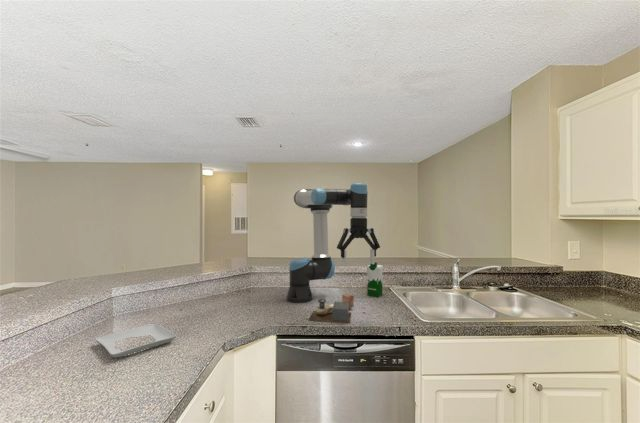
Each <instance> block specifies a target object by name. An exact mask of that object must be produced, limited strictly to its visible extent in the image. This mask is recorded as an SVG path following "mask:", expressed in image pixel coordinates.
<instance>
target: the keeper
mask: <svg viewBox="0 0 640 423" xmlns="http://www.w3.org/2000/svg"><path fill="white" fill-rule="evenodd" d="M317 303H319V304H318V307H319V308H325V306H326V305H325V304H326V303H327V299H325V298H319V299H317ZM333 304H334V306H333V312H331V313H327V314H325V315H319V314H317V310H313V311H312V312H311V314H310V316H309V318H308V321H309V322H324V323H339V324H340V323H341V324H351V318H352V312H350V311H349V309H350V308H349V302H342V301H334V303H333Z"/></svg>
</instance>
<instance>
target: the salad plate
mask: <svg viewBox="0 0 640 423" xmlns="http://www.w3.org/2000/svg"><path fill="white" fill-rule="evenodd" d="M145 335H151V336H153V337H154V338H155V339H156V341H155V342H152V343H148V344H145V345H142V346H138V347H135V348H132V349H129V350H126V351H123V352H122V351H120V350H119V349H115V348H113V347H112V346H115V345H116V344H115V342H114V341H117V340H120V339H123V338H127V337H131V336H132V337H139V336H145ZM176 337H178V336H177V334H176V333H173V331H171V330H169V329H167V328H165V327H163V326H161V325H160V324H158V323H156V322H154V323H153V322H152V323H150V324H145V325H142V326H141V325H140V326H137V327H133V328H128V329H125V330H120V331H117V332H113V333H110V334H105V335H102V336H101V335H100V336H99V337H96V338H95V342H96V343H97V344H99V345H100V346H101V347H103V348H104V349H105V350H106V351H107V352H108V353H109V355H110V356H111V357H112V358H123V357H122V356H124V357H126V356H125V355H128V354H131V353H134V352H138V351H141V350H144V349H147V348H150V349H152V348H151V347H153V348H155V347H154V346H157V345H160V346H162V345H165V344H168V343H170V342H171V341H173V340H175V338H176ZM164 343H165V344H164ZM161 344H162V345H161ZM157 347H158V346H157ZM147 350H148V349H147ZM144 351H145V350H144ZM141 352H142V351H141ZM138 353H139V352H138ZM131 355H132V354H131ZM128 356H129V355H128Z"/></svg>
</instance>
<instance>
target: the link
mask: <svg viewBox="0 0 640 423" xmlns="http://www.w3.org/2000/svg"><path fill="white" fill-rule="evenodd" d="M341 295H342V296H341V297H342V298H341V299H342V300H341V302H349V309H351V308H354V307H355V303H354V302H355V299H354V297H355V296H354V295H353V294H351V293H345V294H341ZM333 306H334V303H332V304H328V305H325V308H319V306H317V307H316V311H317V314H319V315H325V314H327V313H331V312H333Z"/></svg>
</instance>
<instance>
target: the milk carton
mask: <svg viewBox="0 0 640 423" xmlns="http://www.w3.org/2000/svg"><path fill="white" fill-rule="evenodd" d="M383 268H384V265H383V264H382V265H381V264H378V262H375V261H374V264H371V263H370V262H369V264H368V265H367V266H366V281H367V282H366V287H367V288H366V290H367V291H366V292H367V295H366V296H369V297H370V296H371V297H374V298H375V297H376V298H379V297H380V296H382V295H383Z"/></svg>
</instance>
